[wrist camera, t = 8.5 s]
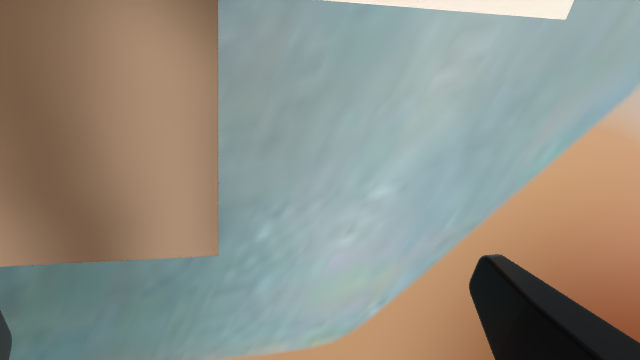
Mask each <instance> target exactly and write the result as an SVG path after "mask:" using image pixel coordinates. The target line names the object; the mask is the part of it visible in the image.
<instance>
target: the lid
mask: <svg viewBox="0 0 640 360" xmlns="http://www.w3.org/2000/svg"><path fill="white" fill-rule="evenodd" d="M327 1H339V2H352V3H364V4H376V5H389V6H401V7H414V8H426V9H439V10H451V11H464V12H476V13H488V14H501V15H513V16H526V17H538V18H551V19H563V20H566V17H567V15H568V13H569V10H570V8H571V6H572V3H573V1H574V0H327Z"/></svg>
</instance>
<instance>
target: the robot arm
mask: <svg viewBox="0 0 640 360" xmlns="http://www.w3.org/2000/svg"><path fill="white" fill-rule="evenodd" d="M469 289H470V294H471V297H472V299H473V302H474V304H475V307H476V310H477V313H478V315H479V318H480V321H481V324H482V326H483V329H484V332H485V334H486V337H487V340H488V342H489V345H490V348H491V350H492V353H493V355H494V358H495V360H640V343H639V342H637V341H636V340H634V339H633V338H631V337H630V336H628V335H626V334H625V333H623V332H622V331H620V330H618V329H617V328H615V327H614V326H612V325H611V324H609V323H607V322H606V321H605V320H603V319H601V318H600V317H598V316H596V315H595V314H593V313H592V312H590V311H589V310H587V309H586V308H584V307H583V306H581V305H579V304H578V303H576V302H575V301H573V300H572V299H570V298H568V297H567V296H565V295H564V294H562V293H561V292H559V291H558V290H556V289H554V288H553V287H551V286H550V285H548V284H546V283H545V282H543V281H542V280H540V279H539V278H537V277H535V276H534V275H532V274H531V273H529V272H528V271H526V270H525V269H523V268H521V267H520V266H518V265H517V264H515V263H514V262H512V261H510V260H509V259H507V258H506V257H504V256H502V255H498V254H495V255H485V256H482V257H481V258H480V259H479V261H478V263H477V265H476V268H475V270H474V272H473V275H472V277H471V279H470V283H469ZM11 346H12V337H11V333H10V330H9V328H8V326H7V324H6V321H5V319H4V317H3V315H2V313H1V311H0V360H9V357H10V352H11Z"/></svg>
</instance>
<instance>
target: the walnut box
mask: <svg viewBox="0 0 640 360" xmlns="http://www.w3.org/2000/svg"><path fill="white" fill-rule="evenodd" d="M203 256H218V0H0V267H3V266H23V265H43V264H63V263H83V262H103V261H123V260H143V259H163V258H183V257H203Z"/></svg>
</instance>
